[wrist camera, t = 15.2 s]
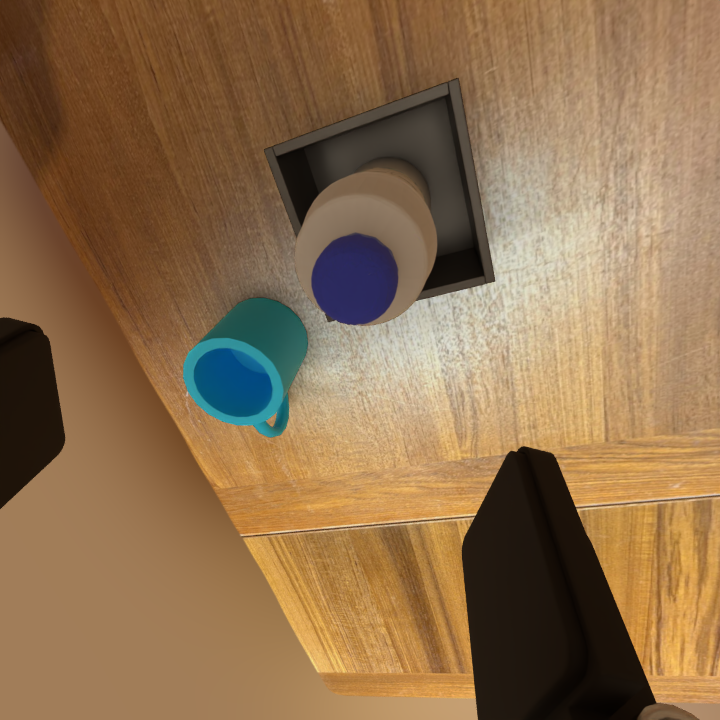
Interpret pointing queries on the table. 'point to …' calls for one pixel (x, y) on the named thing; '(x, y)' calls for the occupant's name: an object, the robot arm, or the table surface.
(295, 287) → the table surface
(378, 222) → the bottle
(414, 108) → the bin
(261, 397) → the mug
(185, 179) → the table surface
